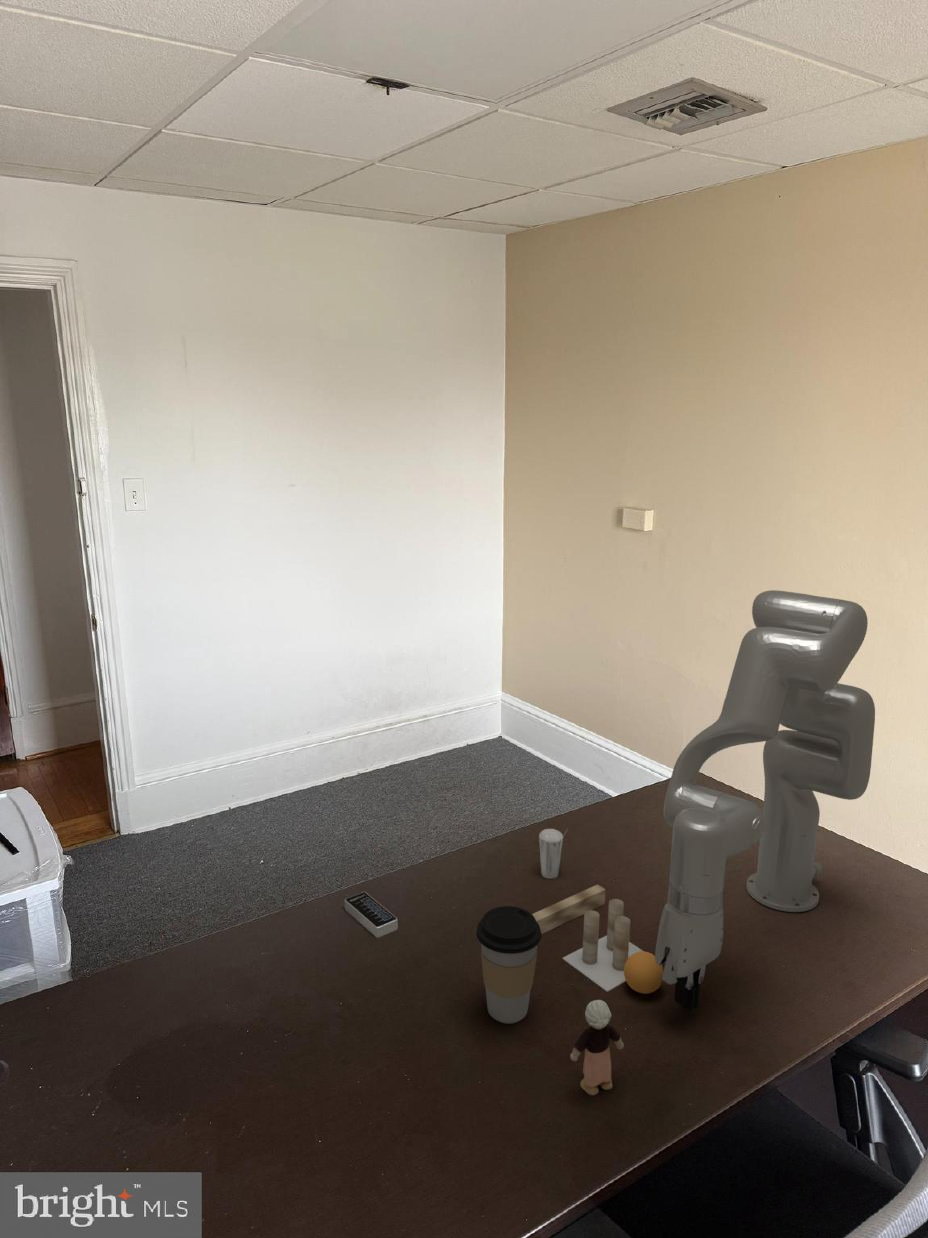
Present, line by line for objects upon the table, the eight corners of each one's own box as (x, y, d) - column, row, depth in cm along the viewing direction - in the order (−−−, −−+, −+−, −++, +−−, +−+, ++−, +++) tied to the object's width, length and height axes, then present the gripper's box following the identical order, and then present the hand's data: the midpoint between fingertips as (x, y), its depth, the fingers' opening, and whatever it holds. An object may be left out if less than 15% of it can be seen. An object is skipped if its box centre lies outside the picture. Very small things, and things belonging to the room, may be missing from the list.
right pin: (613, 942, 144) (616, 897, 142) (624, 949, 142) (626, 904, 140) (603, 947, 142) (605, 902, 140) (613, 954, 140) (616, 909, 138)
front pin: (619, 960, 139) (622, 914, 137) (630, 968, 137) (633, 921, 135) (609, 966, 138) (611, 919, 136) (620, 974, 136) (623, 926, 134)
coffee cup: (545, 997, 130) (548, 910, 127) (529, 1039, 122) (532, 947, 118) (486, 983, 133) (487, 898, 130) (466, 1024, 125) (467, 933, 121)
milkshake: (564, 882, 161) (566, 834, 159) (536, 879, 162) (538, 831, 160) (566, 870, 166) (568, 823, 163) (539, 867, 167) (540, 820, 164)
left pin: (589, 954, 140) (591, 908, 138) (600, 962, 139) (602, 915, 137) (579, 960, 139) (581, 913, 137) (589, 967, 137) (591, 921, 135)
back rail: (596, 899, 156) (597, 884, 155) (604, 904, 155) (605, 889, 154) (503, 942, 143) (503, 927, 143) (511, 948, 142) (511, 932, 141)
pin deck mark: (613, 932, 146) (613, 931, 146) (659, 962, 139) (659, 961, 139) (562, 959, 139) (562, 958, 139) (607, 992, 132) (607, 991, 132)
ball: (671, 953, 131) (669, 989, 132) (636, 939, 135) (635, 975, 136) (652, 969, 127) (651, 1007, 128) (617, 955, 131) (615, 991, 132)
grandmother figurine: (605, 1065, 117) (610, 984, 114) (625, 1083, 114) (630, 1001, 111) (561, 1088, 113) (565, 1005, 110) (580, 1108, 110) (584, 1023, 107)
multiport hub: (377, 940, 145) (376, 928, 144) (343, 910, 153) (343, 899, 152) (398, 930, 147) (398, 919, 147) (364, 902, 156) (364, 891, 155)
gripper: (706, 867, 130) (697, 972, 134) (639, 900, 121) (632, 1011, 125) (749, 889, 124) (738, 998, 128) (682, 925, 115) (673, 1041, 120)
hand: (686, 1004), depth 127 cm, fingers closed
